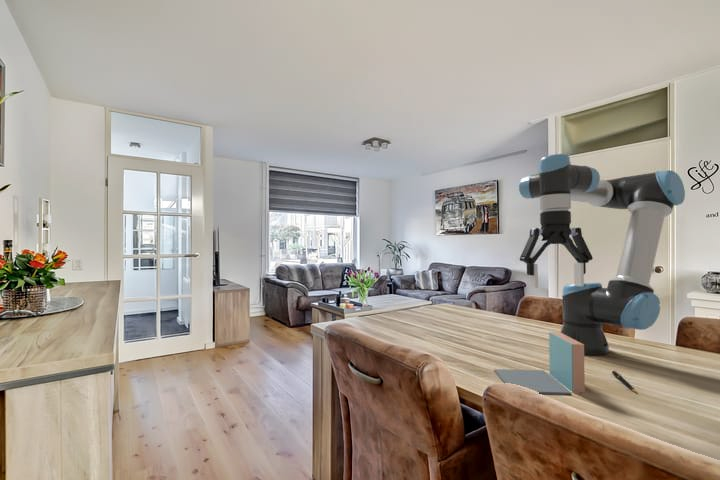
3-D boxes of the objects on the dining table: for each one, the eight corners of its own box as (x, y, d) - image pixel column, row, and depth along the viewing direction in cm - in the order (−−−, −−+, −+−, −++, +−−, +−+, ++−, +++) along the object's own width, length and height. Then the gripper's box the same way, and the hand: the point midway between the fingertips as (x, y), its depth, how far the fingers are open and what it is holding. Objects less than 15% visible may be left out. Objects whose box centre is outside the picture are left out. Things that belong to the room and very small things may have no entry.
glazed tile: (560, 374, 98) (559, 332, 98) (584, 392, 86) (584, 344, 86) (549, 374, 98) (549, 332, 98) (572, 392, 86) (571, 344, 86)
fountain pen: (638, 395, 85) (638, 388, 85) (633, 394, 85) (633, 388, 85) (614, 373, 98) (614, 368, 98) (610, 373, 99) (610, 368, 99)
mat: (543, 372, 100) (543, 370, 100) (571, 394, 85) (571, 392, 85) (494, 370, 101) (493, 369, 101) (512, 393, 86) (512, 391, 86)
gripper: (586, 211, 101) (587, 283, 101) (505, 212, 99) (507, 286, 99) (606, 209, 94) (608, 286, 94) (520, 209, 91) (522, 289, 91)
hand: (556, 286), depth 96 cm, fingers open, 13 cm apart
